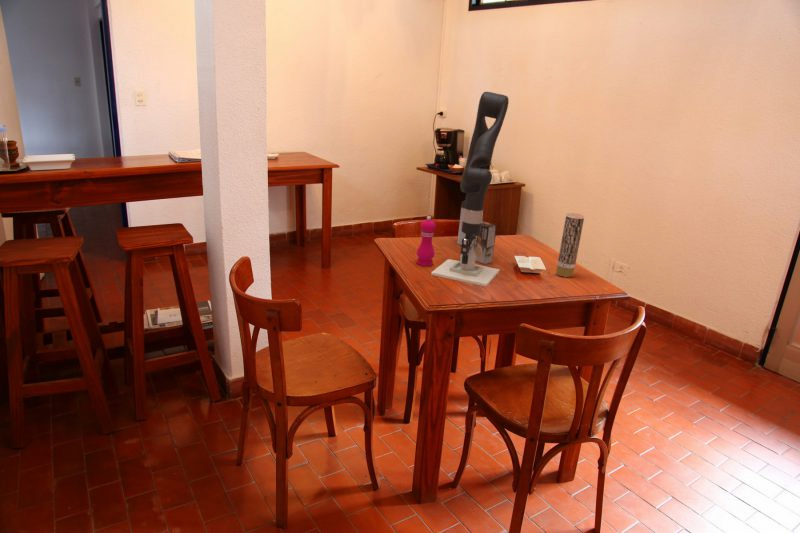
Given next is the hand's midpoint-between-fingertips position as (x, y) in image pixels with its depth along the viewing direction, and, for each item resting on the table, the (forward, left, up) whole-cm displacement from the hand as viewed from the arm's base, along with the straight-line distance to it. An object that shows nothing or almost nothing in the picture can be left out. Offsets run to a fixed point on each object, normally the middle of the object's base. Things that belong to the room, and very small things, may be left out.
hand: (467, 260), depth 211 cm
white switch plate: (0, 0, -5) cm, 5 cm away
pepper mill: (-1, -18, -5) cm, 19 cm away
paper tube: (-22, +35, -5) cm, 42 cm away
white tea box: (0, 0, -3) cm, 3 cm away
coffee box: (-20, 0, -5) cm, 21 cm away
